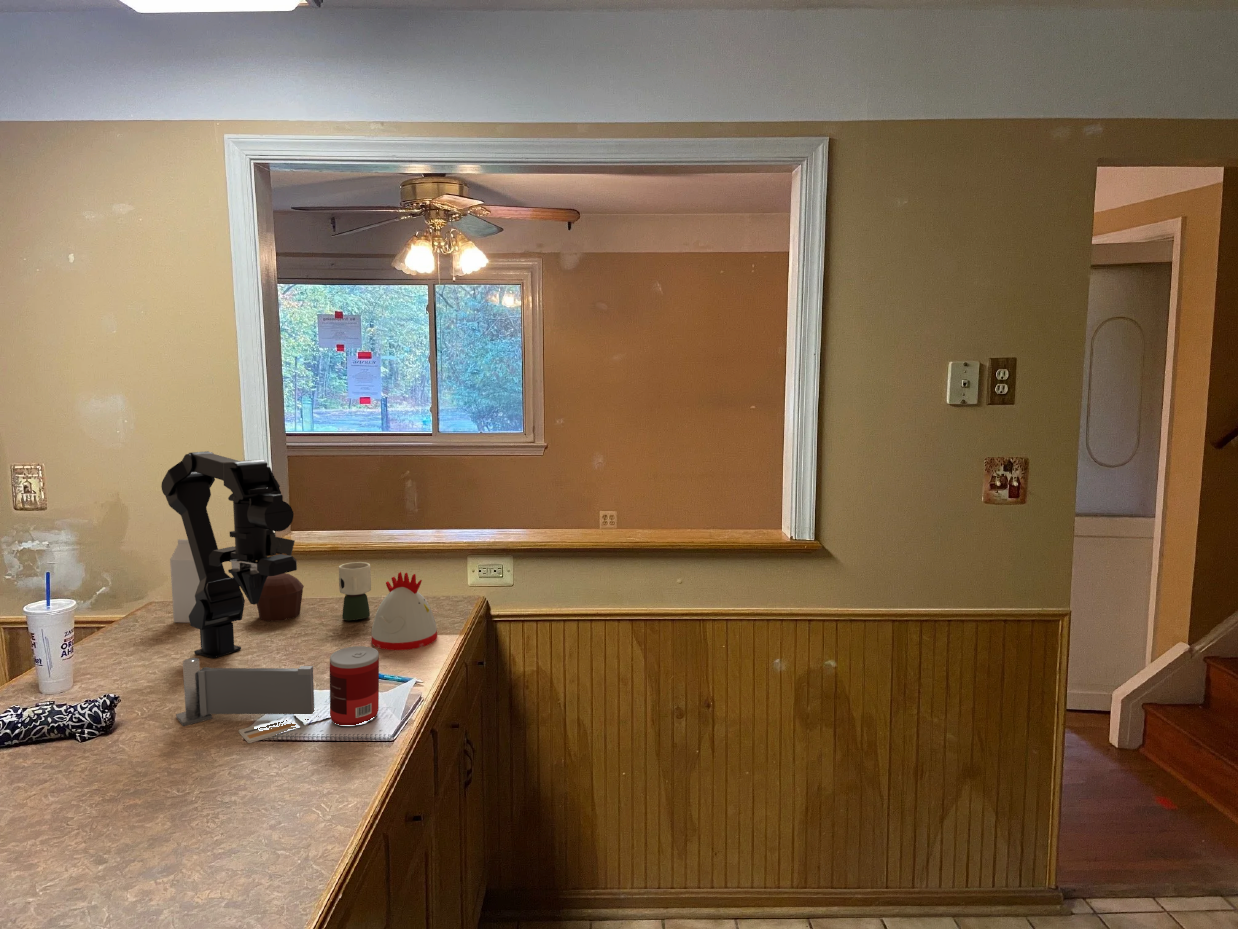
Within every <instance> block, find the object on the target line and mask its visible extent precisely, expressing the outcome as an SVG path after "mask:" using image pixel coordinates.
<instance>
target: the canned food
mask: <svg viewBox="0 0 1238 929" xmlns="http://www.w3.org/2000/svg"><path fill="white" fill-rule="evenodd" d="M379 654H380V653H379V651H378V649H376V648H374V647H372V646H366V645H355V646H354V645H353V646H348V647H344V648H339V649H337V650H336V651H333V653H332V654H331V655H330V657H329V703H330V716H331V718H330V719H331V721H332V723H333V722H334V723H333V724H335V723H336V724H339V725H356V724H359V723H362V722H364V721H368V720H370V719H371V718H373V717H375V716H376V715H378V713H379V710H380V709H379V707H380V706H379V705H380V704H379V699H380V696H379V694H380V692H379V691H380V684H379V683H380V682H379V680H380V678H379V677H380V676H379V675H380V656H379ZM376 717H377V716H376ZM376 717H375V718H376ZM336 724H335V725H336ZM339 725H338V726H339Z"/></svg>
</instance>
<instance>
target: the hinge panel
mask: <svg viewBox="0 0 1238 929" xmlns="http://www.w3.org/2000/svg"><path fill="white" fill-rule="evenodd" d="M198 676H199V694H200V713H201V715H207V714H211V715H294V714H313V712H314V711H315V710H314V708H315V694H314V693H315V691H314V690H315V689H314V684H315V683H314V665H300V666H299V667H298V668H297V667H296V668H291V667H289V668H288V667H287V668H286V667H285V668H283V667H282V668H281V667H279V668H275V667H274V668H272V667H270V668H269V667H268V668H266V667H263V668H262V667H261V668H260V667H259V668H258V667H257V668H254V667H249V668H247V667H241V668H240V667H238V668H237V667H236V668H235V667H209V666H208V667H202V668H200V671H198Z"/></svg>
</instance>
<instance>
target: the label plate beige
mask: <svg viewBox="0 0 1238 929" xmlns="http://www.w3.org/2000/svg"><path fill="white" fill-rule="evenodd" d="M286 721H287V720H286ZM283 722H284V721H283ZM283 722H281V723H283ZM279 723H280V722H278V726H279ZM273 725H275V726H276V725H277V723H274V724H270V725H267V726H266V727H267V728H269V726H273ZM281 725H282V724H280V726H279V727H270V728H269V730H263V731H259V730H258V728H257V729H254V726H255V725H253V726H252V725H251V726H248V727H245V728H240V729H238V734H240V735H241V737H242V739H244V740H245V741H246V742H247V744H251V743H254V742H258V741H262V740H265V739H269V738H271V737H275V735H276V734H279V733H281V732H284V731H287V730H288V729H293V728H296V727H291V726H295V725H296V724H292V723H291V724H286V725H284V724H283V726H281ZM266 727H260V728H266ZM260 728H259V729H260ZM271 728H272V729H271ZM279 735H280V734H279ZM276 736H277V735H276Z"/></svg>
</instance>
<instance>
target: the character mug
mask: <svg viewBox="0 0 1238 929" xmlns="http://www.w3.org/2000/svg"><path fill="white" fill-rule="evenodd" d="M371 569H372V567H371V564H370V563H368V562H362V561H356V562H355V561H353V562H347V563H343V564H341V565H338V587H339V588H338V589H339V593H341V594H344V595H345V596H344V597H343V604H342V614H341V615H342V617H341V618H342V620H344V621H355V622H357V621H358V620H363V619H366V618H370V616H371V612H370V605H369V604H370V603H369V599H368V595H367V593H369V592H370V591H371V590H372V574H371V573H372V570H371Z"/></svg>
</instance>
